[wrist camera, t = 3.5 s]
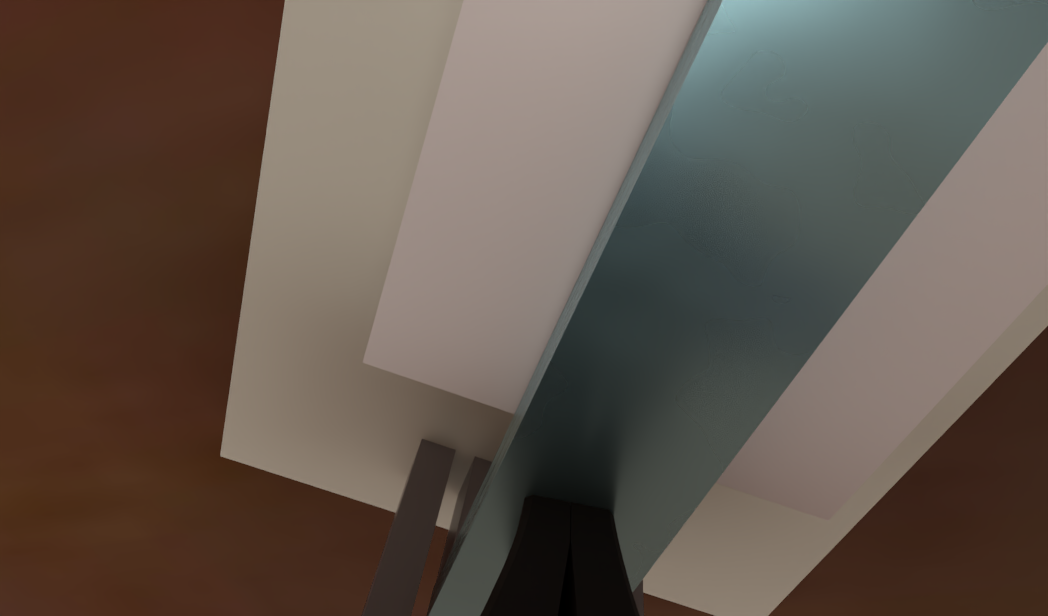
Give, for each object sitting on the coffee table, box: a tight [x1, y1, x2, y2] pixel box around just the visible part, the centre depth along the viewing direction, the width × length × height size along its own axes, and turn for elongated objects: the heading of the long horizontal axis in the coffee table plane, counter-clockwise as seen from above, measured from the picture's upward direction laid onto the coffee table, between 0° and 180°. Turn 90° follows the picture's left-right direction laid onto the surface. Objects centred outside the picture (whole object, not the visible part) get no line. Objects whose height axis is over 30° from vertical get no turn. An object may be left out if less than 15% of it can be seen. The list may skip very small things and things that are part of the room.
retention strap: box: [427, 0, 1048, 616], centre depth 9 cm, size 3×18×1 cm, turn 161°
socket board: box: [220, 0, 1048, 616], centre depth 11 cm, size 14×22×5 cm, turn 161°
